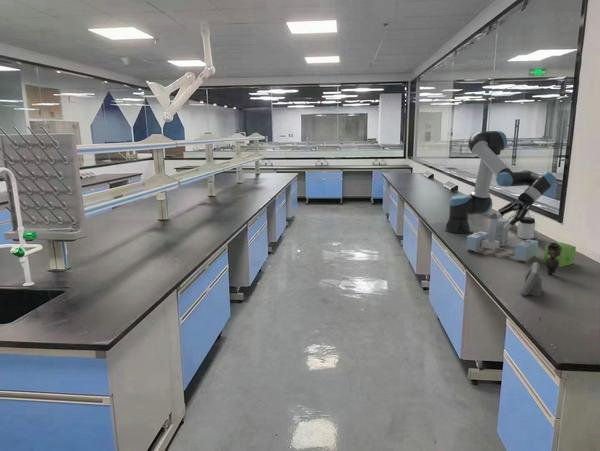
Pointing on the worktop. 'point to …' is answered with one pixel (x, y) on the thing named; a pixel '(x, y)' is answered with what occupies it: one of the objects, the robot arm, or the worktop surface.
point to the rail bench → (500, 253)
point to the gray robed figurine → (532, 281)
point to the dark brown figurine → (553, 257)
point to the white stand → (491, 234)
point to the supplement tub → (501, 231)
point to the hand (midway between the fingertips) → (498, 225)
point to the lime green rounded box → (563, 254)
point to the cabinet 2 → (526, 249)
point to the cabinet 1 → (475, 240)
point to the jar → (526, 228)
